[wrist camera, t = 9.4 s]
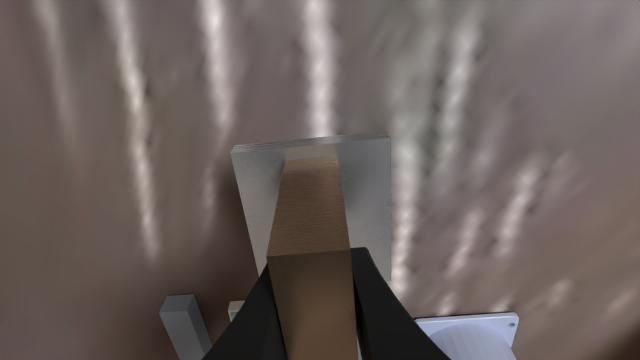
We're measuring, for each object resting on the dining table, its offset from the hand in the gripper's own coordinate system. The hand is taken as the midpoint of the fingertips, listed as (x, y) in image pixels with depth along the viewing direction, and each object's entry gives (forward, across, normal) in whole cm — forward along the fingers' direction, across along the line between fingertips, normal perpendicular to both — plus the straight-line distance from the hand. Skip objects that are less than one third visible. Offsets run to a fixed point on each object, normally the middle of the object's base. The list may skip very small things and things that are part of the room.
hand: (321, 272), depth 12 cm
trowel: (+3, 0, 0) cm, 4 cm away
